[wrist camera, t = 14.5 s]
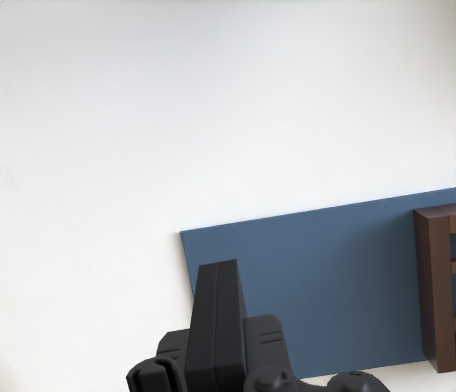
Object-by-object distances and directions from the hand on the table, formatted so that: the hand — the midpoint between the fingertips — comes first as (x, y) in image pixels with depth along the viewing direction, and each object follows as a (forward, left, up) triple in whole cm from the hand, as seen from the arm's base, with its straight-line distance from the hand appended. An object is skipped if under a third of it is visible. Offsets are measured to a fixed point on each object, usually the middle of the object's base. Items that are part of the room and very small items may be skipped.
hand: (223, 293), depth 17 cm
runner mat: (+12, -11, -21) cm, 26 cm away
